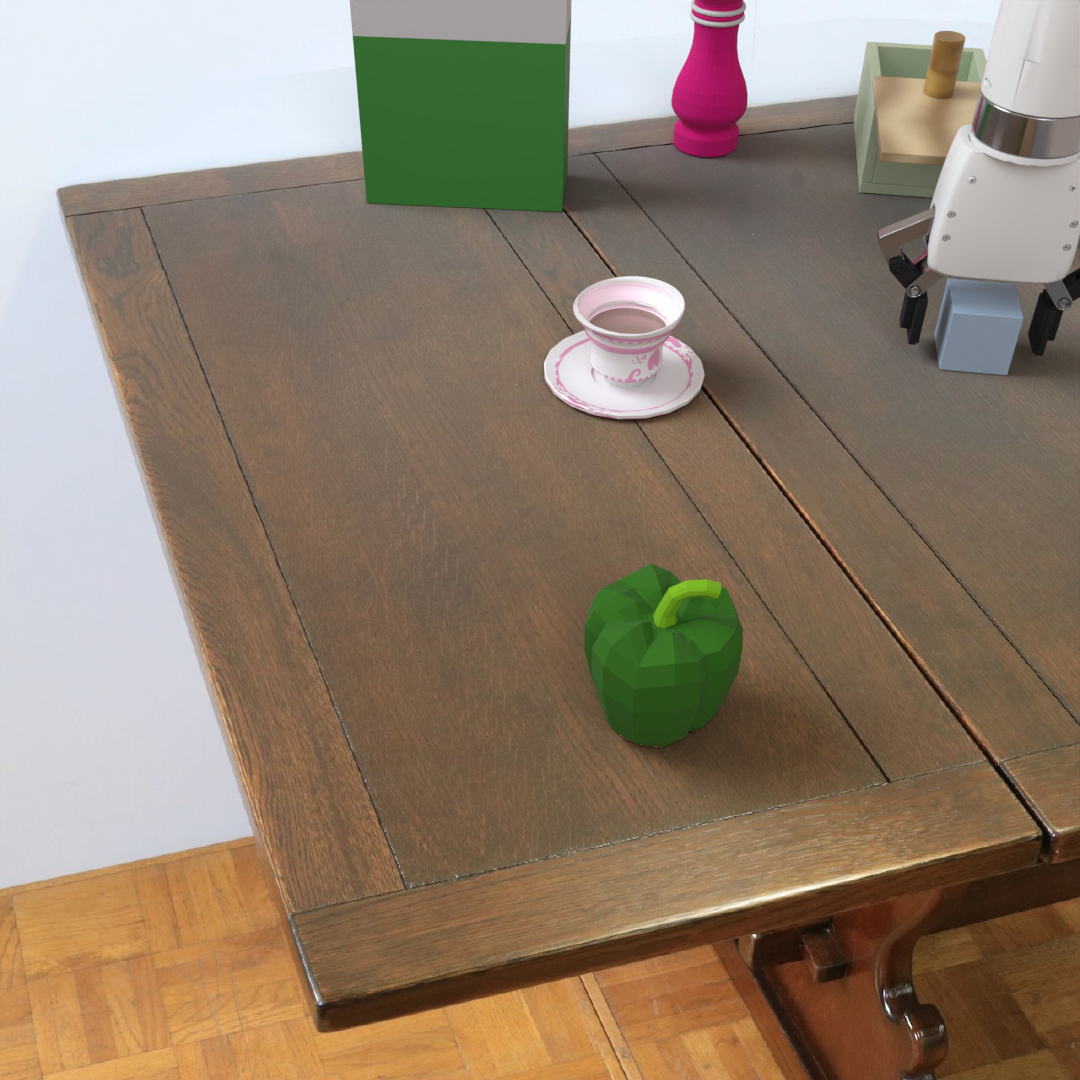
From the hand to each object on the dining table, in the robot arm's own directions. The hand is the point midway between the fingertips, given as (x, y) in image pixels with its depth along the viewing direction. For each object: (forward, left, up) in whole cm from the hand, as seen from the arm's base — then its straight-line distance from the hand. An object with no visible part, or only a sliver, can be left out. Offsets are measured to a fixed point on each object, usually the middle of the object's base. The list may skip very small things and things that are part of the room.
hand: (973, 340), depth 101 cm
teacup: (+26, +7, -1) cm, 27 cm away
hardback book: (+43, -21, -1) cm, 48 cm away
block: (0, 0, -1) cm, 1 cm away
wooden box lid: (+2, -23, +7) cm, 24 cm away
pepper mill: (+22, -34, -1) cm, 40 cm away
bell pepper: (+21, +40, -1) cm, 45 cm away
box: (+2, -34, -1) cm, 34 cm away
